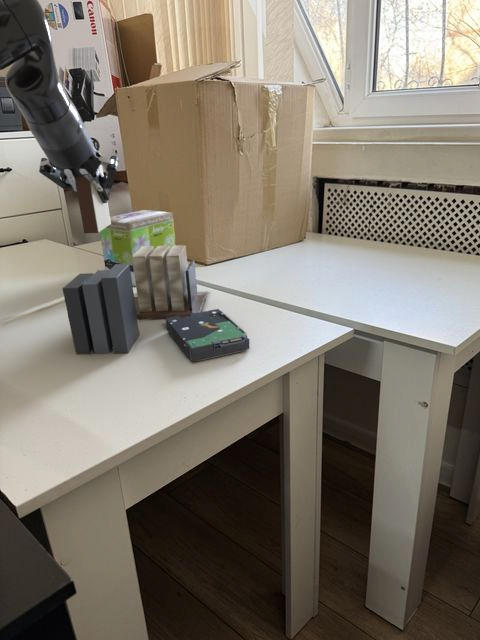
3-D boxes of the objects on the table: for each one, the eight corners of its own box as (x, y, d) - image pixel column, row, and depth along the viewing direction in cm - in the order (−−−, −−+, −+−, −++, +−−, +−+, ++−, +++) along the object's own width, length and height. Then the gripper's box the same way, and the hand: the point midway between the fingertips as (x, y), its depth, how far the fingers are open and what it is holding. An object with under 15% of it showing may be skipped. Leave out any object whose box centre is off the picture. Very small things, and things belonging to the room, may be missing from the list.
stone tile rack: (85, 320, 98) (74, 260, 93) (102, 301, 108) (93, 245, 103) (198, 318, 97) (193, 257, 92) (205, 299, 107) (201, 243, 102)
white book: (98, 233, 90) (87, 167, 85) (84, 233, 90) (72, 167, 85) (111, 223, 97) (102, 163, 93) (98, 224, 97) (88, 163, 93)
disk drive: (166, 332, 92) (191, 363, 80) (164, 318, 91) (190, 347, 79) (219, 321, 96) (251, 350, 84) (218, 307, 95) (250, 334, 82)
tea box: (136, 287, 116) (127, 222, 110) (106, 281, 121) (95, 218, 115) (179, 270, 128) (173, 210, 121) (150, 265, 133) (142, 208, 126)
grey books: (128, 353, 84) (116, 277, 79) (75, 354, 84) (60, 278, 79) (139, 334, 91) (129, 263, 86) (91, 335, 92) (78, 264, 86)
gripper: (106, 108, 78) (136, 181, 95) (17, 111, 79) (63, 183, 95) (101, 147, 76) (133, 215, 92) (9, 150, 76) (57, 217, 92)
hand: (97, 199), depth 93 cm, fingers closed on white book, 2 cm apart
